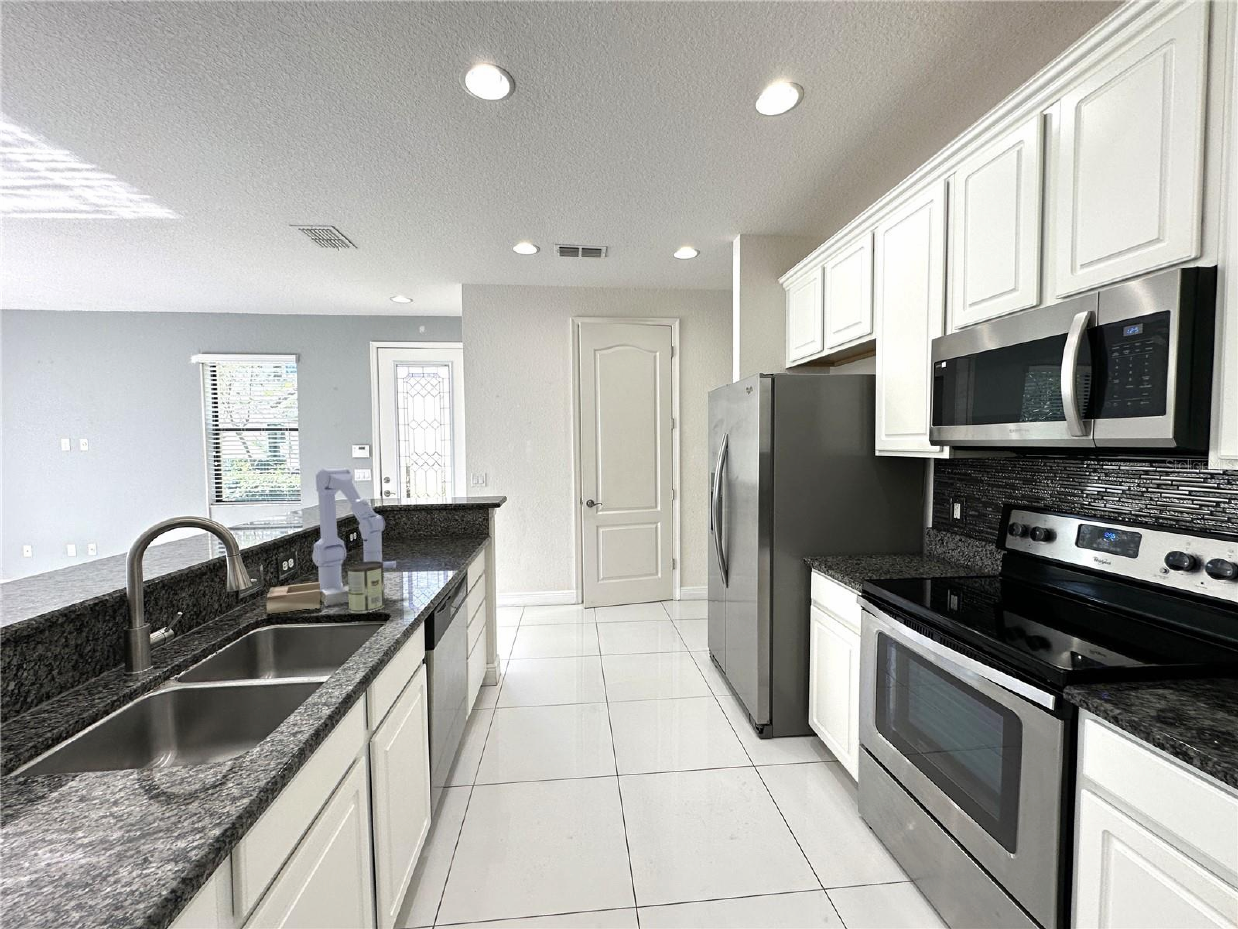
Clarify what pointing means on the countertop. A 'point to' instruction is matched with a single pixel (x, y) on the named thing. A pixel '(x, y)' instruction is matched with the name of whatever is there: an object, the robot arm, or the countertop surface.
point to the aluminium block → (335, 595)
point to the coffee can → (365, 586)
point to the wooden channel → (293, 597)
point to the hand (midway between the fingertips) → (373, 590)
